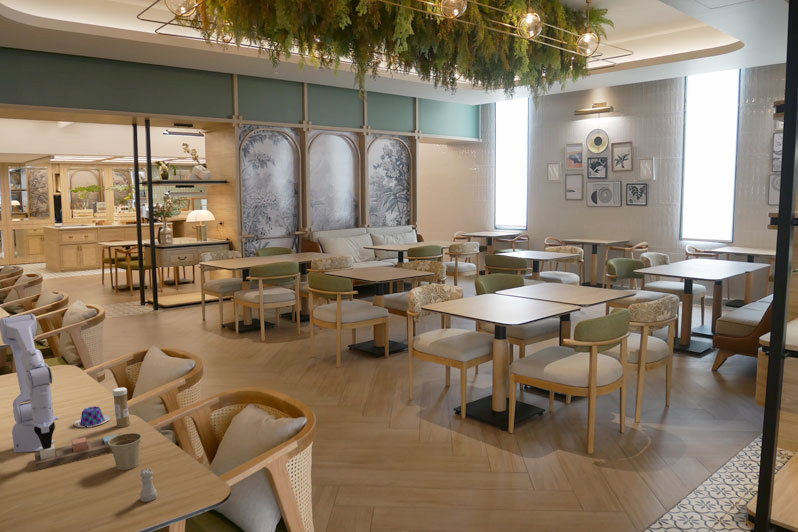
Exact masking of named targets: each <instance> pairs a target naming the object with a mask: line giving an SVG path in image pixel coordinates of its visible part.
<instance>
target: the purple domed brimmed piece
mask: <svg viewBox="0 0 798 532" xmlns="http://www.w3.org/2000/svg"><path fill="white" fill-rule="evenodd" d="M104 418H105V419H104ZM109 420H111V415H108V414H103V412H102V410H101V408H100V407H99V406H96V405H95V406H90V407H86V408H84V409H83V410H82V412H81V416H80V419H77V420H76V421H75V422H74V423H73V425H74V426H75V427H77V428H91V427H95V426H99V425H102V424H104V423H107V422H108V421H109ZM79 421H81V422H80V425H81V426H79V425H78V423H79ZM95 424H96V425H95ZM92 425H93V426H92ZM85 426H87V427H85Z"/></svg>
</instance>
